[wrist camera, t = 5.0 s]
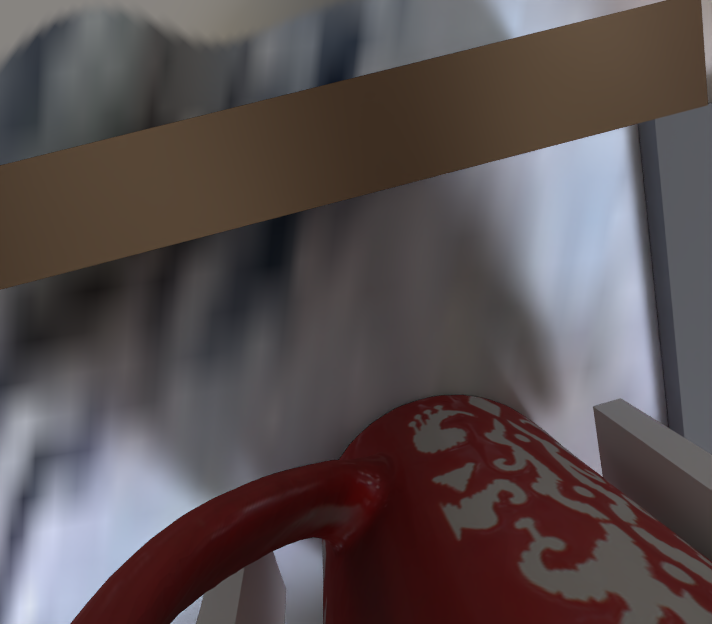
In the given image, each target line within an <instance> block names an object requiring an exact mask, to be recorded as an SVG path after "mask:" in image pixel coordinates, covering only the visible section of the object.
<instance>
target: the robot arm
mask: <svg viewBox="0 0 712 624" xmlns="http://www.w3.org/2000/svg"><path fill="white" fill-rule="evenodd" d="M593 410H594V417H595V424H596V431H597V438H598V446H599V453H600V460H601V467H602V474H603V478H604V479H605V480H607V481H608V482H609V483H611V484H612V485H613V486H614V487H616V488H617V489H618V490H620V491H621V492H622V493H624V494H625V495H626V496H627V497H629V498H630V499H631V500H633V501H634V502H635V503H636V504H638V505H639V506H640V507H642V508H643V509H644V510H645V511H647V512H648V513H649V514H651V515H652V516H653V517H654V518H656V519H657V520H658V521H660V522H661V523H662V524H664V525H665V526H666V527H668V528H669V529H670V530H671V531H673V532H674V533H675V534H676V535H678V536H679V537H680V538H681V539H683V540H684V541H685V542H687V543H688V544H689V545H690V546H692V547H693V548H694V549H696V550H697V551H698V552H700V553H701V554H703V555H704V556H705V557H707V558H708V559H709V560H711V561H712V455H711V454H710V453H708V452H706V451H705V450H703V449H702V448H700V447H698V446H697V445H695V444H694V443H692V442H690V441H689V440H687V439H685V438H684V437H682V436H681V435H679V434H677V433H676V432H674V431H673V430H671V429H669V428H668V427H666V426H665V425H663V424H661V423H660V422H658V421H657V420H655V419H653V418H652V417H650V416H648V415H647V414H645V413H644V412H642V411H640V410H639V409H637V408H636V407H634V406H632V405H631V404H629V403H628V402H626V401H624V400H623V399H621V398H620V399H617V400H613V401H610V402H606V403H603V404H599V405H596V406H593ZM285 604H286V587H285V585H284V582H283V579H282V576H281V573H280V570H279V567H278V565H277V562H276V559H275V556H274V553H273V551H272V552H270V553H269V554H267V555H265V556H263V557H262V558H260V559H259V560H257V561H255V562H253V563H251V564H249V565H247V566H245V567H244V568H242V569H241V570H239V571H238V572H237V573H235V574H233V575H231V576H229V577H228V578H226V579H225V580H223V581H222V582H221V583H219V584H218V585H217V586H216V587H214V588H213V589H211V590H209V591H207V592H205V593H204V596H203V600H202V604H201V607H200V611H199V615H198V619H197V623H196V624H284V623H285Z"/></svg>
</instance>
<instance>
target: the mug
mask: <svg viewBox="0 0 712 624" xmlns="http://www.w3.org/2000/svg"><path fill="white" fill-rule="evenodd" d="M312 537H316V538H321V539H322V554H323V624H712V561H711V560H709V559H708V558H707V557H705V556H704V555H703V554H701V553H700V552H698V551H697V550H696V549H694V548H693V547H692V546H690V545H689V544H688V543H687V542H685V541H684V540H683V539H681V538H680V537H679V536H678V535H676V534H675V533H674V532H673V531H671V530H670V529H669V528H668V527H666V526H665V525H664V524H662V523H661V522H660V521H658V520H657V519H656V518H654V517H653V516H652V515H651V514H649V513H648V512H647V511H645V510H644V509H643V508H642V507H640V506H639V505H638V504H636V503H635V502H634V501H633V500H631V499H630V498H629V497H627V496H626V495H625V494H624V493H622V492H621V491H620V490H618V489H617V488H616V487H614V486H613V485H612V484H611V483H609V482H608V481H607V480H605V479H604V478H603V477H602V476H601V475H599V474H598V473H597V472H595V471H594V470H593V469H591V468H590V467H588V466H587V465H586V464H585V463H583V462H582V461H581V460H579V459H578V458H577V457H576V456H574V455H573V454H572V453H571V452H569V451H568V450H567V449H566V448H564V447H563V446H562V445H561V444H560V443H558V442H557V441H556V440H555V439H554V438H553V437H551V436H550V435H549V434H548V433H547V432H545V431H544V430H543V429H542V428H540V427H539V426H538V425H536V424H535V423H533V422H532V421H531V420H529V419H528V418H526V417H525V416H523V415H522V414H520V413H519V412H517V411H515V410H514V409H512V408H510V407H508V406H506V405H503V404H501V403H498V402H495V401H492V400H489V399H485V398H481V397H475V396H466V395H441V396H434V397H428V398H425V399H421V400H418V401H415V402H412V403H409V404H406V405H403V406H400V407H398V408H396V409H394V410H392V411H390V412H389V413H387V414H385V415H384V416H382V417H381V418H379V419H378V420H376V421H374V422H373V423H372V424H371V425H369V426H368V427H367V428H366V429H365V430H364V431H363V432H362V433H360V434H359V435H358V436H357V437H356V438H355V439H354V440H353V442H352V443H351V444H350V445H349V446H348V448H347V449H346V450H345V452H344V453H343V455H342V456H341V457H340V459H339V460H330V461H324V462H319V463H315V464H310V465H306V466H301V467H297V468H293V469H289V470H285V471H282V472H278V473H275V474H272V475H268V476H265V477H262V478H260V479H258V480H255V481H252V482H249V483H247V484H245V485H242V486H240V487H238V488H236V489H233V490H231V491H229V492H226V493H224V494H222V495H220V496H217V497H215V498H213V499H211V500H209V501H208V502H206V503H204V504H202V505H200V506H199V507H197V508H195V509H193V510H191V511H190V512H188V513H186V514H185V515H183V516H182V517H180V518H179V519H177V520H176V521H174V522H173V523H172V524H170V525H169V526H168V527H166V528H165V529H164V530H162V531H161V532H160V533H158V534H157V535H156V536H154V537H153V538H152V539H150V540H149V541H148V542H147V543H146V544H145V545H144V546H142V547H141V548H140V549H139V550H138V551H137V552H136V553H134V554H133V555H132V556H131V557H130V558H129V559H128V560H127V561H126V562H125V563H124V564H123V565H122V566H121V567H120V568H119V569H118V570H117V571H116V572H115V573H114V574H113V575H112V576H111V577H109V579H108V580H107V581H106V582H105V583H104V584H103V585H102V587H101V588H100V589H99V590H98V591H97V592H96V593H95V595H94V596H93V597H92V598H91V599H90V600H89V602H88V603H87V604H86V605H85V606H84V608H83V609H82V610H81V611H80V613H79V614H78V615H77V616H76V617H75V619H74V620H73V621H72V622H71V624H170V623H171V622H172V621H173V620H174V619H175V618H176V616H177V615H178V614H179V613H181V612H182V611H183V610H185V609H186V608H187V607H188V606H190V605H191V604H192V603H193V602H194V601H196V600H197V599H198V598H199V597H201V596H202V595H203V594H204V593H205V592H207V591H209V590H211V589H213V588H214V587H216V586H217V585H218V584H219V583H221V582H222V581H223V580H225V579H226V578H228V577H229V576H231V575H233V574H235V573H237V572H238V571H239V570H241V569H242V568H244V567H245V566H247V565H249V564H251V563H253V562H255V561H257V560H259V559H260V558H262V557H263V556H265V555H267V554H269V553H270V552H272V551H274V550H276V549H279V548H281V547H283V546H285V545H287V544H291V543H294V542H296V541H299V540H303V539H308V538H312Z"/></svg>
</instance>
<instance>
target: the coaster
mask: <svg viewBox="0 0 712 624" xmlns="http://www.w3.org/2000/svg"><path fill="white" fill-rule="evenodd" d="M638 126H639V136H640V146H641V156H642V165H643V175H644V185H645V195H646V205H647V215H648V225H649V234H650V244H651V254H652V264H653V274H654V284H655V294H656V303H657V313H658V323H659V333H660V343H661V353H662V363H663V373H664V382H665V392H666V402H667V412H668V422H669V429H671V430H673V431H674V432H676V433H677V434H679V435H681V436H682V437H684V438H685V439H687V440H689V441H690V442H692V443H694V444H695V445H697V446H698V447H700V448H702V449H703V450H705V451H706V452H708V453H710V454H711V455H712V103H709V104H708V105H707V106H703V107H700V108H696V109H692V110H688V111H684V112H680V113H677V114H673V115H669V116H665V117H661V118H657V119H654V120H650V121H646V122H642V123H638Z"/></svg>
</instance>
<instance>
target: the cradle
mask: <svg viewBox="0 0 712 624" xmlns="http://www.w3.org/2000/svg"><path fill="white" fill-rule="evenodd" d="M707 105H708V97H707V82H706V67H705V52H704V37H703V23H702V8H701V0H666V1H662V2H658V3H654V4H650V5H646V6H642V7H638V8H634V9H630V10H626V11H622V12H618V13H614V14H610V15H606V16H602V17H598V18H593V19H589V20H585V21H581V22H577V23H573V24H569V25H565V26H561V27H557V28H553V29H549V30H545V31H541V32H537V33H533V34H529V35H525V36H521V37H517V38H513V39H509V40H505V41H501V42H497V43H493V44H488V45H484V46H480V47H476V48H472V49H468V50H464V51H460V52H456V53H452V54H448V55H444V56H440V57H436V58H432V59H428V60H424V61H420V62H416V63H412V64H408V65H404V66H400V67H396V68H392V69H388V70H383V71H379V72H375V73H371V74H367V75H363V76H359V77H355V78H351V79H347V80H343V81H339V82H335V83H331V84H327V85H323V86H319V87H315V88H311V89H307V90H303V91H299V92H295V93H291V94H287V95H283V96H279V97H274V98H270V99H266V100H262V101H258V102H254V103H250V104H246V105H242V106H238V107H234V108H230V109H226V110H222V111H218V112H214V113H210V114H206V115H202V116H198V117H194V118H190V119H186V120H182V121H178V122H174V123H169V124H165V125H161V126H157V127H153V128H149V129H145V130H141V131H137V132H133V133H129V134H125V135H121V136H117V137H113V138H109V139H105V140H101V141H97V142H93V143H89V144H85V145H81V146H77V147H73V148H69V149H64V150H60V151H56V152H52V153H48V154H44V155H40V156H36V157H32V158H28V159H24V160H20V161H16V162H12V163H8V164H4V165H0V290H1V289H5V288H9V287H13V286H16V285H20V284H24V283H28V282H32V281H36V280H39V279H43V278H47V277H51V276H55V275H59V274H62V273H66V272H70V271H74V270H78V269H82V268H85V267H89V266H93V265H97V264H101V263H105V262H109V261H112V260H116V259H120V258H124V257H128V256H132V255H135V254H139V253H143V252H147V251H151V250H155V249H158V248H162V247H166V246H170V245H174V244H178V243H181V242H185V241H189V240H193V239H197V238H201V237H204V236H208V235H212V234H216V233H220V232H224V231H228V230H231V229H235V228H239V227H243V226H247V225H251V224H254V223H258V222H262V221H266V220H270V219H274V218H277V217H281V216H285V215H289V214H293V213H297V212H300V211H304V210H308V209H312V208H316V207H320V206H323V205H327V204H331V203H335V202H339V201H343V200H346V199H350V198H354V197H358V196H362V195H366V194H370V193H373V192H377V191H381V190H385V189H389V188H393V187H396V186H400V185H404V184H408V183H412V182H416V181H419V180H423V179H427V178H431V177H435V176H439V175H442V174H446V173H450V172H454V171H458V170H462V169H465V168H469V167H473V166H477V165H481V164H485V163H489V162H492V161H496V160H500V159H504V158H508V157H512V156H515V155H519V154H523V153H527V152H531V151H535V150H538V149H542V148H546V147H550V146H554V145H558V144H561V143H565V142H569V141H573V140H577V139H581V138H584V137H588V136H592V135H596V134H600V133H604V132H607V131H611V130H615V129H619V128H623V127H627V126H631V125H634V124H638V123H642V122H646V121H650V120H654V119H657V118H661V117H665V116H669V115H673V114H677V113H680V112H684V111H688V110H692V109H696V108H700V107H703V106H707Z"/></svg>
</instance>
